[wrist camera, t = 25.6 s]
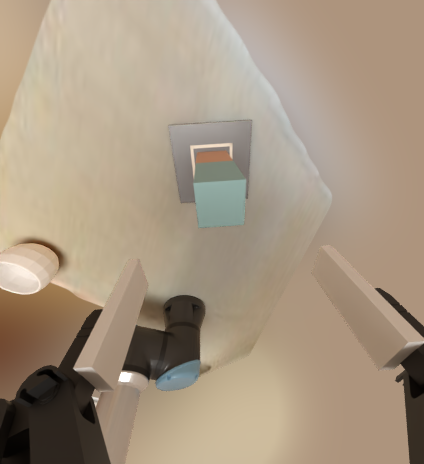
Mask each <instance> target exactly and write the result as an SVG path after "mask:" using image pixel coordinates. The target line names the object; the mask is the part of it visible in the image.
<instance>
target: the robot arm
mask: <svg viewBox="0 0 424 464" xmlns="http://www.w3.org/2000/svg"><path fill="white" fill-rule="evenodd" d="M312 275H313V276H314V277H315V279H316V280H317V282H318V283H319V285H320V286H321V288H322V289H323V291H324V292H325V293H326V295H327V296H328V298H329V299H330V301H331V302H332V304H333V305H334V306H335V308H336V309H337V311H338V312H339V314H340V315H341V317H342V318H343V319H344V321H345V322H346V324H347V325H348V326H349V328H350V330H351V331H352V332H353V334H354V335H355V337H356V338H357V340H358V341H359V343H360V344H361V345H362V347H363V348H364V350H365V351H366V352H367V354H368V355H369V357H370V358H371V360H372V361H373V363H374V364H375V365H376V367H377V368H378V370H390V369H395V368H396V367H397V366H398V365H399V364H401V365H402V366H403V367H404V369H405V370H404V371H403V372H402V373H401V374H400V375H398V376H397V377H396V380H395V381H396V382H400V381H401V380H402V379H403V380H404V384H403V386H404V393H405V406H406V419H407V432H408V445H409V459H410V464H424V326H423V325H422V324H420V323H419V322H418V321H417V320H416V319H415V318H414V317H413V316H412V315H411V314H410V313H408V312H407V310H406V309H405V308H404V307H403V306H402V305H400V304H399V303H398V302H397V301H396V300H395V299H394V298H393V297H392V296H391V295H390V294H388V293H386V292H385V291H383V290H382V289H380V288H376V289H374V288H373V287H372V286H371V285H370V284H369V283H368V282H367V281H366V280H365V279H364V278H363V277H362V276H361V275H360V274H359V273H358V272H357V271H356V270H355V269H354V268H353V267H352V266H351V265H350V264H349V263H348V262H347V261H346V260H345V259H344V258H343V257H342V256H341V255H340V254H339V253H338V251H336V250H335V248H334V247H333V246H331V245H325V246H320V249H319V252H318V255H317V258H316V261H315V264H314V267H313V270H312ZM147 288H148V282H147V279H146V277H145V274H144V271H143V268H142V266H141V263H140V260H139V259H132V260H128V262H127V263H126V265H125V267H124V269H123V271H122V273H121V275H120V277H119V279H118V281H117V283H116V285H115V287H114V289H113V291H112V293H111V295H110V297H109V299H108V301H107V303H106V305H105V307H104V309H100V310H94V311H93V312H92V313H91V314H90V315H89V316H88V317H87V318H86V320H85V322H84V324H83V325H82V327H81V330H80V331H79V333H78V334H77V336H76V338H75V339H74V341H73V343H72V345H71V346H70V348H69V350H68V352H67V353H66V355H65V357H64V359H63V360H62V362H61V364H60V366H59V367H58V368H57V367H55V366H52V365H49V366H44V367H42V368H40V369H38V370H36V371H35V372H34V373H33V374H31V375H30V376H29V377H28V378H27V379H26V380H25V381H24V382H23V383H22V385H21V386H20V388H19V390H18V392H17V394H16V398H15V399H14V400H12V401H7V400H5V399H0V464H125V460H126V456H127V452H128V447H129V443H130V438H131V433H132V429H133V424H134V419H135V415H136V410H137V405H138V401H139V396H140V393H141V392H142V391H143V390H144V389H145V388H147V386H148V384H149V379H153V380H156V382H155V383H156V387H157V389H161V390H162V391H173V390H179V389H183V388H186V387H189V386H191V385H192V384H194V383H195V382H196V381H197V379H198V377H199V370H200V363H201V362H200V328H201V325H202V322H203V319H204V316H205V305H204V303H203V302H202V301H201V300H199V299H197V298H195V297H192V296H177V297H174V298H171V299H170V300H168V301H167V302H166V304H165V306H164V312H163V314H164V321H165V327H166V329H165V331H161V330H156V329H151V328H146V327H141V326H137V325H136V323H137V320H138V317H139V314H140V310H141V307H142V304H143V301H144V298H145V295H146V291H147ZM94 389H96V390H97V391H98V392H101V395H100V397H99V400H98V403H97V406H96V408H95V404H94V401H93V398H92V397H91V396H92V394H93V391H94Z"/></svg>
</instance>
